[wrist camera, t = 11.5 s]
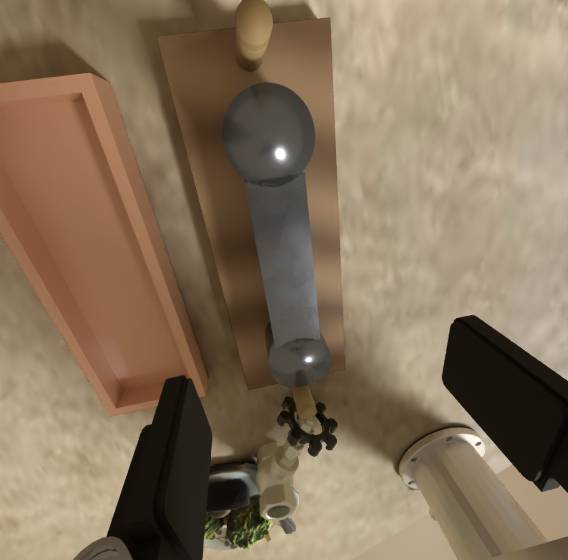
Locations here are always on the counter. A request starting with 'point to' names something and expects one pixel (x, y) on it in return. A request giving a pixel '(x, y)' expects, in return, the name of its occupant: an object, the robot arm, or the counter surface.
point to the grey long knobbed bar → (280, 222)
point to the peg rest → (230, 185)
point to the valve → (289, 459)
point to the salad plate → (237, 508)
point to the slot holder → (92, 239)
